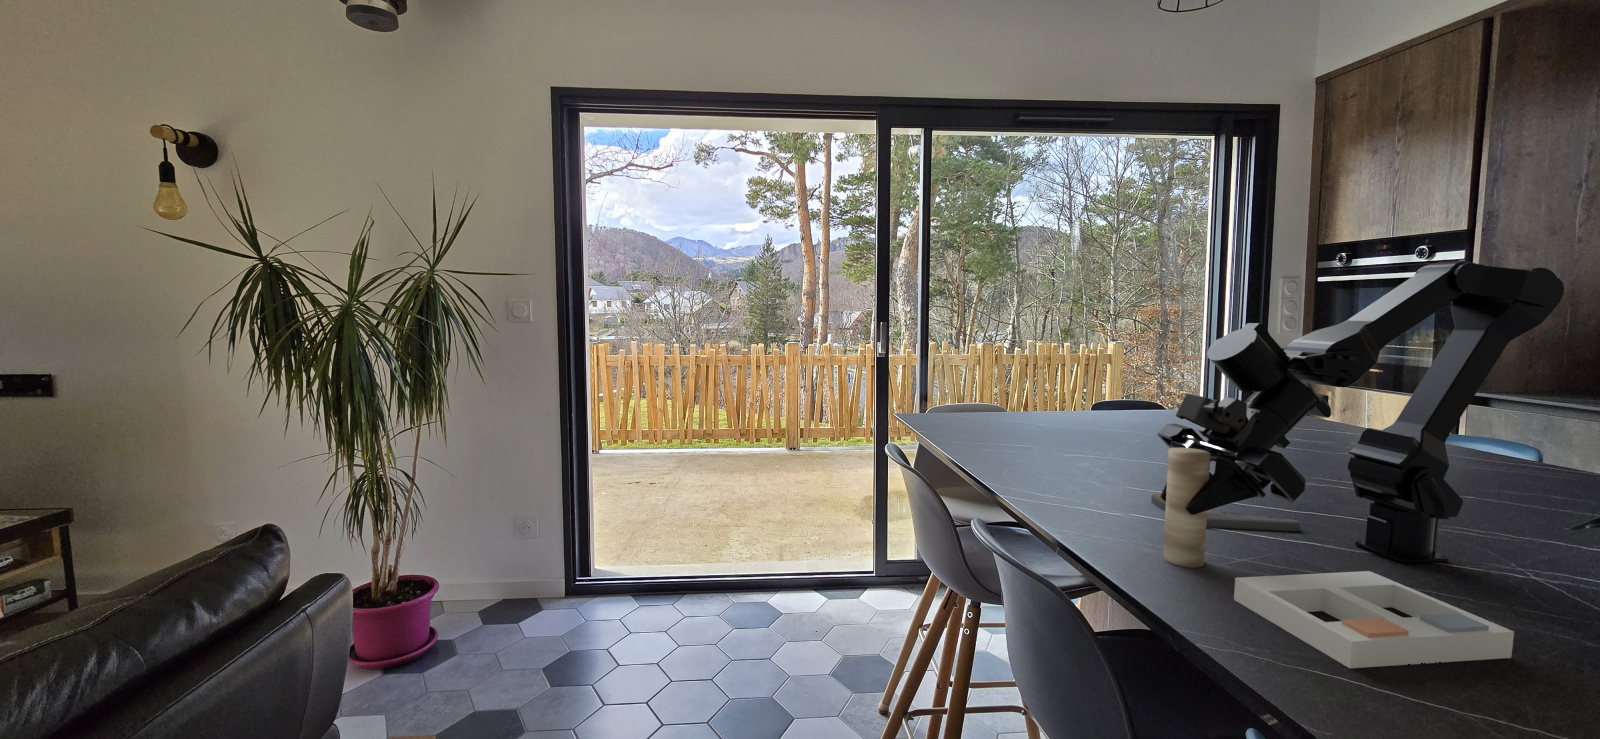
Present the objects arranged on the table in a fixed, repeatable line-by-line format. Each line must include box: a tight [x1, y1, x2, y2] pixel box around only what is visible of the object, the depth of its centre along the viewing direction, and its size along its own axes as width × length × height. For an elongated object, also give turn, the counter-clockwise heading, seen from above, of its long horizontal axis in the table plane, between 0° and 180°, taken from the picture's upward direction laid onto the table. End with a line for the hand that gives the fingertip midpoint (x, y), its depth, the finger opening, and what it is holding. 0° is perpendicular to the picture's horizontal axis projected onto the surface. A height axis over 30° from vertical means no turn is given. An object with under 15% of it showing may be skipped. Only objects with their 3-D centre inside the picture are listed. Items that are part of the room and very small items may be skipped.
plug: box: [1162, 448, 1211, 569], centre depth 77 cm, size 4×4×14 cm
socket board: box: [1233, 570, 1515, 669], centre depth 62 cm, size 16×13×3 cm
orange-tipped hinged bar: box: [1151, 493, 1302, 532], centre depth 95 cm, size 2×16×12 cm
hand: (1175, 505), depth 77 cm, fingers closed on plug, 4 cm apart
